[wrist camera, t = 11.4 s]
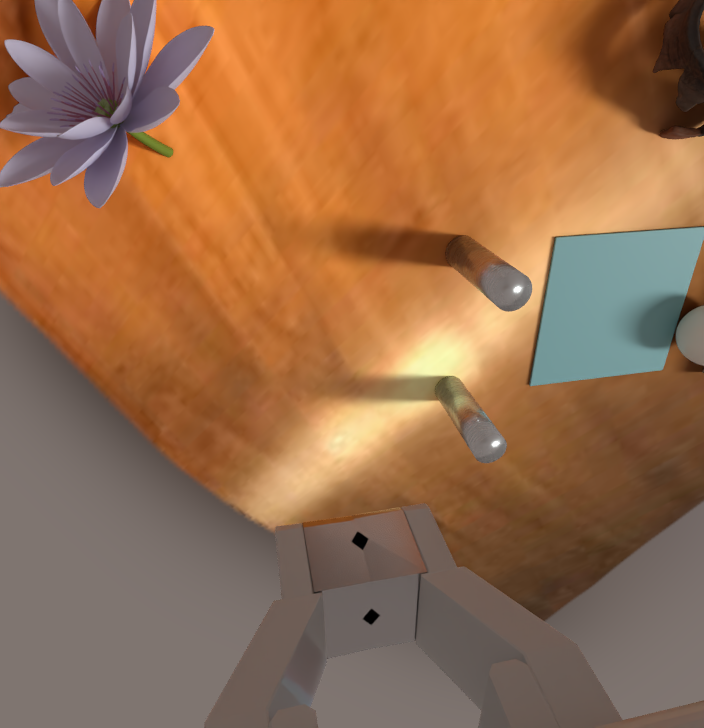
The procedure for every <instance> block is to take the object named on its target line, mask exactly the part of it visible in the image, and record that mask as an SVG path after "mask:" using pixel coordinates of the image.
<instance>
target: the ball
mask: <svg viewBox="0 0 704 728" xmlns="http://www.w3.org/2000/svg"><path fill="white" fill-rule="evenodd" d="M676 342H677V346H678V348H679V350H680V351H681V353H682V354H683V355H684V356H685V357H686V358H687V359H689V360H690V361H692V362H694V363H696V364H699V365H703V366H704V305H703V306H700V307H697V308H695V309H693V310H691V311H690V312H689V313H687V314H686V315H685V316H684V317H683V318H682V320H681V321H680V323H679V324H678V327H677V330H676Z"/></svg>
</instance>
